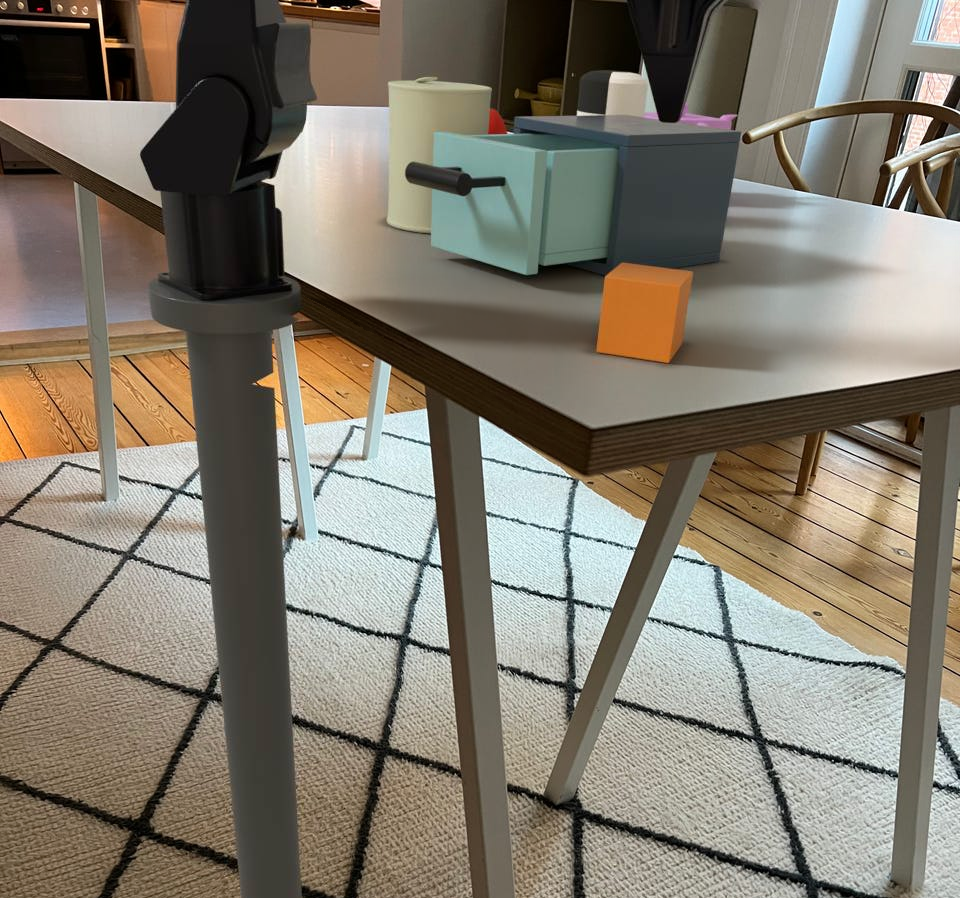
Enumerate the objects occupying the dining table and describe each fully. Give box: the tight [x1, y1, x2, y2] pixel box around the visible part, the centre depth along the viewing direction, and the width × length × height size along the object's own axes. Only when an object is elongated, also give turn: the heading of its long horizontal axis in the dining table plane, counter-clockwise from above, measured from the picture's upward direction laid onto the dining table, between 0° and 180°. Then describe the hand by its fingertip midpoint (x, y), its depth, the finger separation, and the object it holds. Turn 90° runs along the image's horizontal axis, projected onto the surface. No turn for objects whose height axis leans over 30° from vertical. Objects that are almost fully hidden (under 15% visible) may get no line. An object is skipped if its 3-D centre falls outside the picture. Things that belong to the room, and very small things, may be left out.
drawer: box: [405, 132, 620, 276], centre depth 78 cm, size 17×11×8 cm, turn 131°
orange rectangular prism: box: [595, 263, 694, 364], centre depth 62 cm, size 4×4×4 cm
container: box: [576, 69, 649, 117], centre depth 100 cm, size 8×8×13 cm
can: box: [386, 76, 493, 234], centre depth 91 cm, size 9×9×12 cm
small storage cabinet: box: [513, 115, 742, 276], centre depth 85 cm, size 14×13×10 cm
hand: (669, 122), depth 57 cm, fingers closed
